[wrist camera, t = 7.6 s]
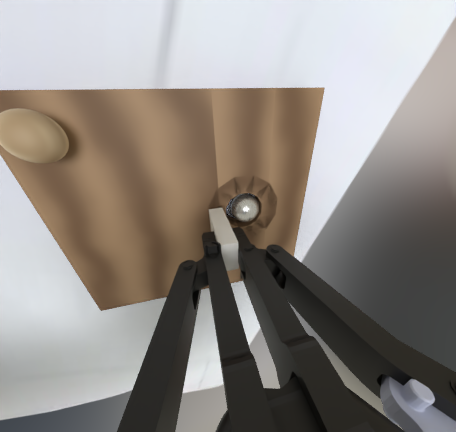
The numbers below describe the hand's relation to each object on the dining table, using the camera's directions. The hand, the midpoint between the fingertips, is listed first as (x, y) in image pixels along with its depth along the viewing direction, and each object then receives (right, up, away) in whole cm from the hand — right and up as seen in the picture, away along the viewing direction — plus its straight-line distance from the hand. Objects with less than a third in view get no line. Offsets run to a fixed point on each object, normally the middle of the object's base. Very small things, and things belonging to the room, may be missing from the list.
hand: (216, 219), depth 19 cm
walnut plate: (-3, +1, +3) cm, 4 cm away
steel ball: (+3, +1, +2) cm, 4 cm away
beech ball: (-12, +6, -7) cm, 15 cm away
